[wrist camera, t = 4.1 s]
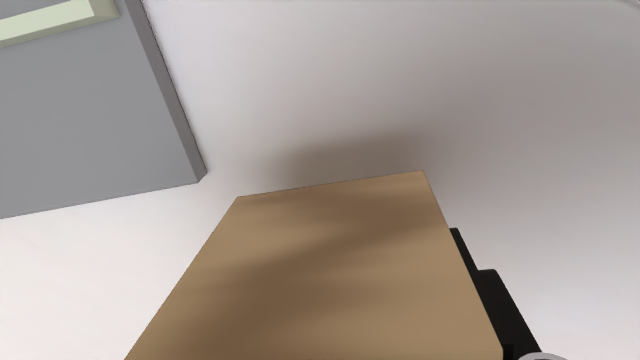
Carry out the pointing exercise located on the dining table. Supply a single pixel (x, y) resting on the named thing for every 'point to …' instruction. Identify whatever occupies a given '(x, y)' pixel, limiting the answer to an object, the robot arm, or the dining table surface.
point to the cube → (326, 281)
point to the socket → (55, 20)
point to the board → (89, 115)
